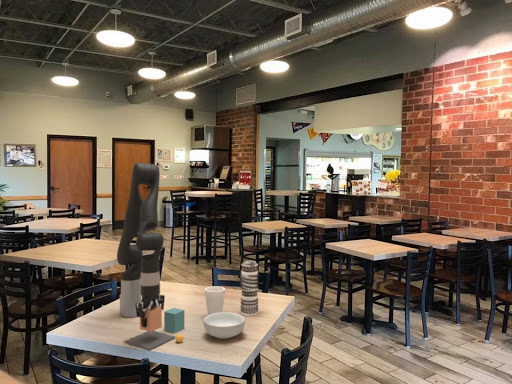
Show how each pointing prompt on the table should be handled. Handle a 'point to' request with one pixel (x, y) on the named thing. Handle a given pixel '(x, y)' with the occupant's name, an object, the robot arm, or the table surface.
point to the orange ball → (179, 338)
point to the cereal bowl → (224, 324)
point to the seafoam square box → (174, 320)
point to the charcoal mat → (150, 340)
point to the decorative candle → (249, 288)
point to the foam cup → (214, 299)
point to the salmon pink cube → (153, 319)
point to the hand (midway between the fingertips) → (150, 324)
